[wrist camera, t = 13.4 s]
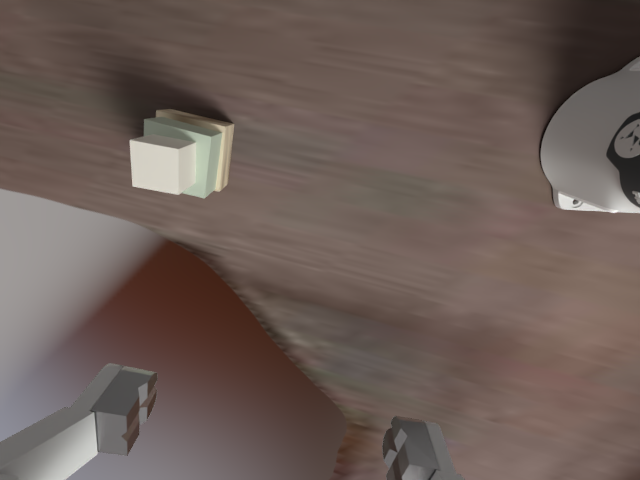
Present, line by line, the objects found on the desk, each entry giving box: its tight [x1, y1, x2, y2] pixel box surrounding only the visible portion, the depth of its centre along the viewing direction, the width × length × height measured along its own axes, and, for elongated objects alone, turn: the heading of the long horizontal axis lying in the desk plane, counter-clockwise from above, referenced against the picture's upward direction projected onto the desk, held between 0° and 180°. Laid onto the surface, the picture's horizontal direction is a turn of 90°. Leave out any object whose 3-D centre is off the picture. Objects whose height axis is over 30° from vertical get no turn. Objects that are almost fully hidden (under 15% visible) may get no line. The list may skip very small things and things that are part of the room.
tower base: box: [156, 109, 234, 192], centre depth 40 cm, size 8×8×4 cm
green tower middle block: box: [144, 117, 222, 198], centre depth 37 cm, size 7×7×4 cm
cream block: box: [130, 134, 196, 195], centre depth 33 cm, size 4×4×4 cm
